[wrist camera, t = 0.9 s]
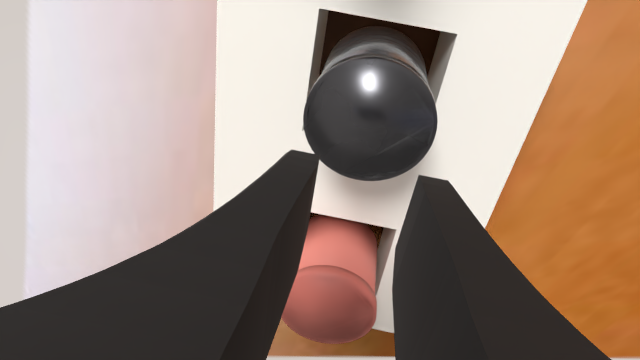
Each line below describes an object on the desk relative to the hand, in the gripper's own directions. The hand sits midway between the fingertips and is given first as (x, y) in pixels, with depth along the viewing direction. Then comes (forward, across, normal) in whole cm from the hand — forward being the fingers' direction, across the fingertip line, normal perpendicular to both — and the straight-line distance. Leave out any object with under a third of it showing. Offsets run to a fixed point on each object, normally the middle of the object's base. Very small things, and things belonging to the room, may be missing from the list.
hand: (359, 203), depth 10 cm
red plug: (+8, 0, +8) cm, 11 cm away
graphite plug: (+8, 0, 0) cm, 8 cm away
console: (+10, 0, +4) cm, 11 cm away
